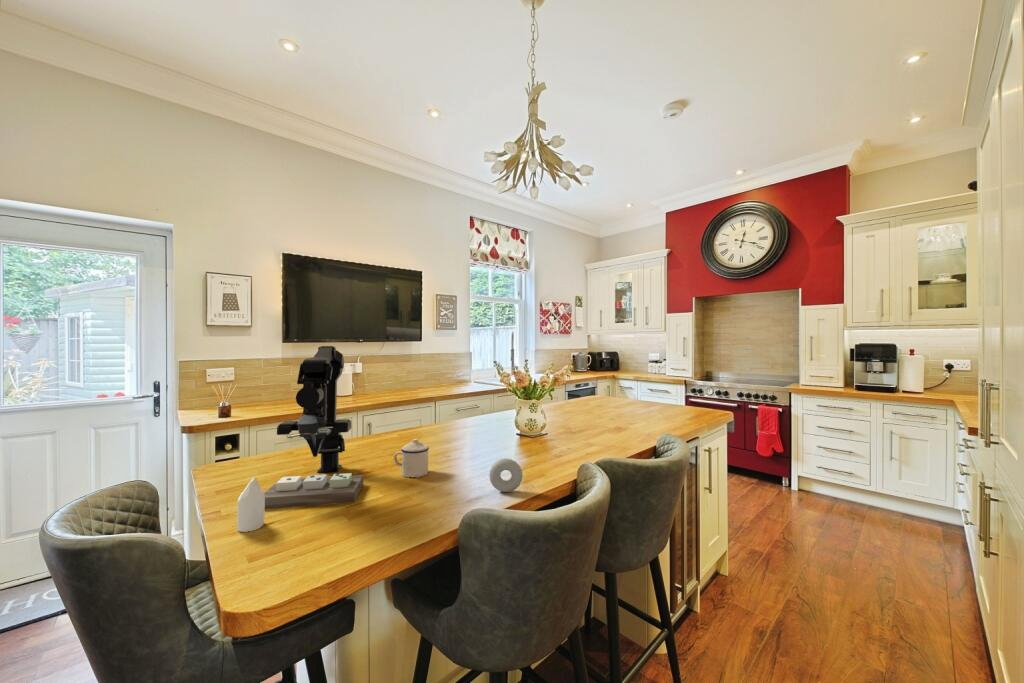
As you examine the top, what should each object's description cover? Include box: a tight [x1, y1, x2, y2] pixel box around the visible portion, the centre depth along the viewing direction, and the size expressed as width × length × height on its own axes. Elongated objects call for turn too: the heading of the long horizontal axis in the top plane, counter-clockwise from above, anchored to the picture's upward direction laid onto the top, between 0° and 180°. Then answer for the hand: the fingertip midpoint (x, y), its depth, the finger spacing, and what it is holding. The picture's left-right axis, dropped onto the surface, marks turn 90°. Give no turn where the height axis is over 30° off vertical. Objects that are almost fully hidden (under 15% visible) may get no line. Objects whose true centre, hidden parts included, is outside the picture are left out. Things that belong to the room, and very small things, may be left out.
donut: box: [489, 458, 524, 493], centre depth 118 cm, size 10×4×10 cm, turn 89°
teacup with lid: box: [393, 438, 430, 479], centre depth 134 cm, size 12×9×12 cm
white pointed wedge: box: [236, 476, 266, 533], centre depth 95 cm, size 6×12×6 cm
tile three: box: [330, 472, 353, 488], centre depth 116 cm, size 5×5×3 cm
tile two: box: [303, 474, 328, 490], centre depth 114 cm, size 5×5×3 cm
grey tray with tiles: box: [264, 474, 364, 510], centre depth 114 cm, size 14×24×3 cm, turn 101°
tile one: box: [275, 475, 302, 491], centre depth 113 cm, size 5×5×3 cm
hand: (315, 456), depth 114 cm, fingers closed
